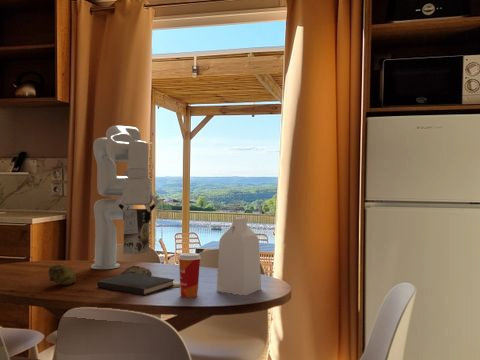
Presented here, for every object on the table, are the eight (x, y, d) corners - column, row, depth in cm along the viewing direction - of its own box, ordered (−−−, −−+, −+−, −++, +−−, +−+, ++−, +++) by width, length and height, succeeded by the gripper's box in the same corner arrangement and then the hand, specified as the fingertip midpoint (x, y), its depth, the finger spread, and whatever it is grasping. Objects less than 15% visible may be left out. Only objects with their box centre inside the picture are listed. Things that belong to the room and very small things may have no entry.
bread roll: (155, 276, 178) (155, 264, 178) (141, 281, 166) (141, 269, 166) (128, 274, 182) (128, 262, 182) (112, 279, 170) (112, 267, 170)
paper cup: (178, 293, 147) (178, 252, 147) (200, 292, 147) (201, 252, 148) (176, 298, 139) (177, 256, 139) (200, 298, 140) (200, 256, 140)
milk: (244, 295, 144) (244, 219, 145) (216, 291, 150) (217, 218, 151) (261, 289, 154) (261, 217, 155) (234, 285, 160) (235, 216, 161)
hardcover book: (129, 278, 168) (129, 272, 168) (174, 285, 156) (174, 279, 156) (97, 287, 154) (97, 281, 154) (143, 295, 142) (143, 289, 142)
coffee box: (139, 254, 150) (140, 209, 151) (122, 254, 152) (123, 209, 152) (149, 251, 159) (150, 208, 160) (133, 250, 161) (134, 208, 161)
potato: (84, 282, 162) (85, 261, 162) (56, 289, 151) (57, 267, 151) (69, 280, 166) (70, 260, 166) (40, 286, 154) (41, 264, 155)
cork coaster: (166, 282, 163) (166, 281, 163) (187, 283, 163) (187, 281, 163) (163, 287, 155) (163, 286, 155) (184, 287, 155) (184, 286, 155)
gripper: (111, 173, 153) (110, 222, 152) (159, 174, 153) (158, 223, 152) (117, 174, 160) (116, 221, 160) (163, 175, 160) (162, 221, 160)
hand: (137, 222), depth 156 cm, fingers closed on coffee box, 7 cm apart
